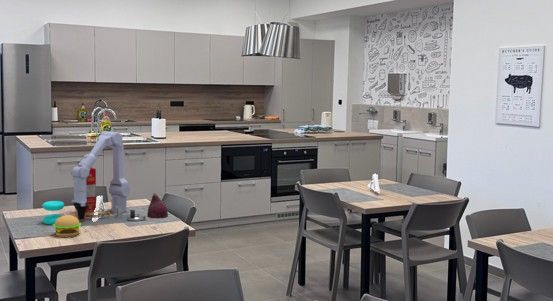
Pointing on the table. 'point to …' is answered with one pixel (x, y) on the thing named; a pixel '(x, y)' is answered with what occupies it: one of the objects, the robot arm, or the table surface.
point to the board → (106, 220)
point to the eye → (118, 212)
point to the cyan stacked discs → (52, 207)
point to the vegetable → (157, 208)
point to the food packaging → (91, 191)
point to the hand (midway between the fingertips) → (80, 218)
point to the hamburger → (67, 226)
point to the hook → (92, 214)
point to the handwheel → (135, 216)
